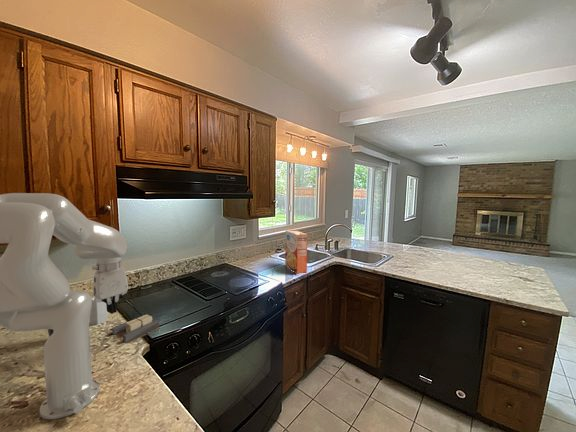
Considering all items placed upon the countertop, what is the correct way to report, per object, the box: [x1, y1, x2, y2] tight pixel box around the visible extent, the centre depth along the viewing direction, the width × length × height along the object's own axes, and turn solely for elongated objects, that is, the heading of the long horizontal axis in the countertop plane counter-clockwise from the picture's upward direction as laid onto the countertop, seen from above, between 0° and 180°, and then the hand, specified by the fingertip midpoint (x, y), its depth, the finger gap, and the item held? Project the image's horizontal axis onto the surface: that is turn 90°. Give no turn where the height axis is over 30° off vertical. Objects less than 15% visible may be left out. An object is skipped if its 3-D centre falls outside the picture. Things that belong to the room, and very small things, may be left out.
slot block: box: [111, 314, 161, 345], centre depth 102 cm, size 13×13×4 cm
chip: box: [125, 318, 141, 333], centre depth 101 cm, size 4×4×4 cm
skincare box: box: [89, 296, 109, 326], centre depth 109 cm, size 6×4×12 cm
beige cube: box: [137, 314, 153, 327], centre depth 105 cm, size 4×4×4 cm
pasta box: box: [284, 229, 308, 275], centre depth 190 cm, size 23×8×30 cm, turn 22°
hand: (112, 312), depth 94 cm, fingers closed
